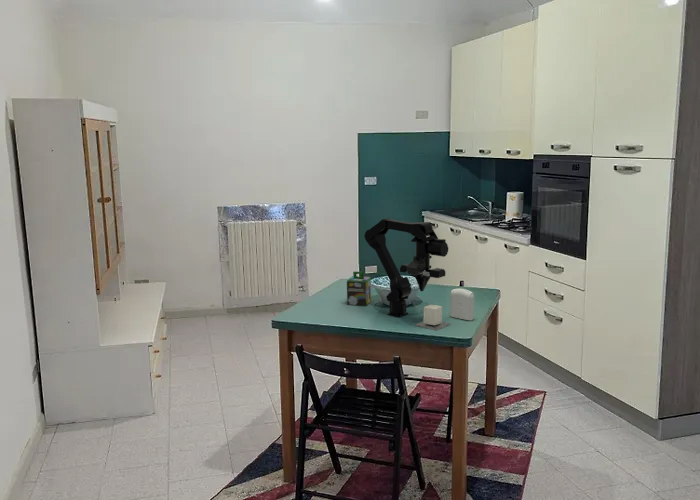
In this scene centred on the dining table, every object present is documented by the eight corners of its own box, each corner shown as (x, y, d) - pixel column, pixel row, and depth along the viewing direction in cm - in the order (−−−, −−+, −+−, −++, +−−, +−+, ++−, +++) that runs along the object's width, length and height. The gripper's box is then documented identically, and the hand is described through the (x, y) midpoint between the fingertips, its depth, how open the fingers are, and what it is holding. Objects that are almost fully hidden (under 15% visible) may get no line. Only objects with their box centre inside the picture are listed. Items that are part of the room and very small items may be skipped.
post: (415, 325, 253) (415, 308, 252) (428, 320, 261) (429, 303, 259) (436, 330, 247) (437, 313, 245) (450, 324, 254) (450, 307, 253)
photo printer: (448, 316, 265) (449, 287, 263) (454, 314, 268) (455, 286, 266) (469, 321, 258) (470, 292, 256) (475, 319, 261) (476, 290, 259)
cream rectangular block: (423, 323, 253) (423, 306, 252) (430, 320, 257) (430, 304, 256) (434, 325, 250) (435, 309, 249) (441, 322, 254) (442, 306, 253)
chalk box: (371, 301, 290) (371, 269, 288) (366, 306, 282) (366, 273, 279) (351, 300, 293) (351, 268, 290) (346, 305, 284) (346, 272, 281)
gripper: (392, 253, 256) (391, 291, 259) (431, 259, 245) (430, 298, 247) (407, 249, 265) (407, 286, 268) (446, 255, 253) (445, 293, 256)
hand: (421, 291), depth 259 cm, fingers closed
